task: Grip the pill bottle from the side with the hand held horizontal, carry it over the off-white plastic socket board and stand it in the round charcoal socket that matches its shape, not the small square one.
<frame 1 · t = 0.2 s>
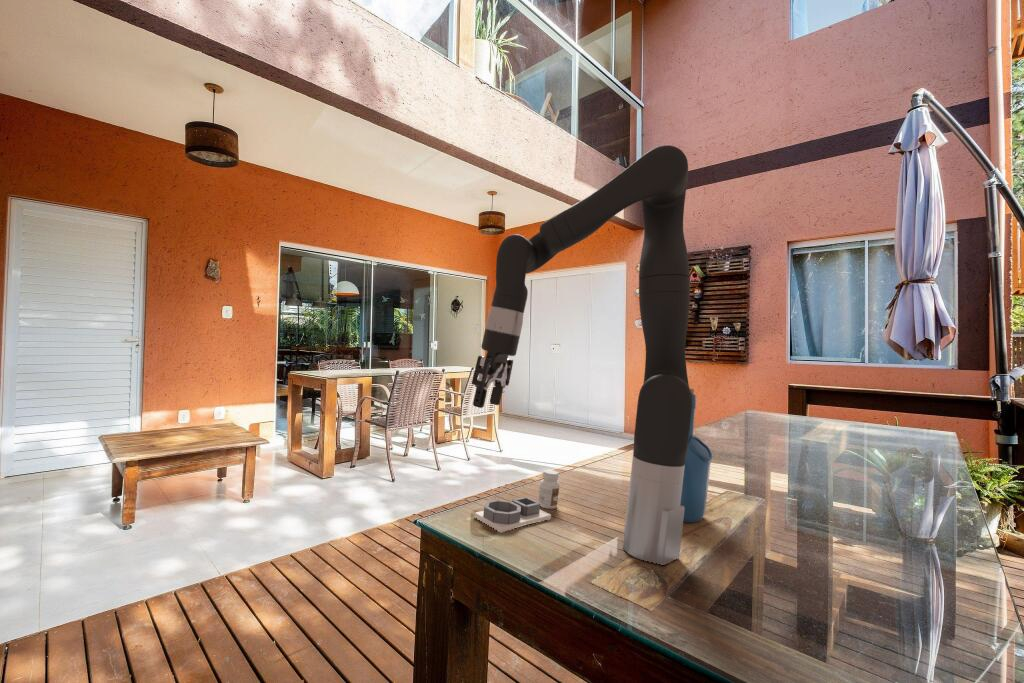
hand: (486, 405, 95), 22 cm above the table, tool pointing down, fingers open, 8 cm apart
pill bottle: (547, 506, 102), on the table
socket board: (513, 518, 92), on the table
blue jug: (675, 514, 106), on the table
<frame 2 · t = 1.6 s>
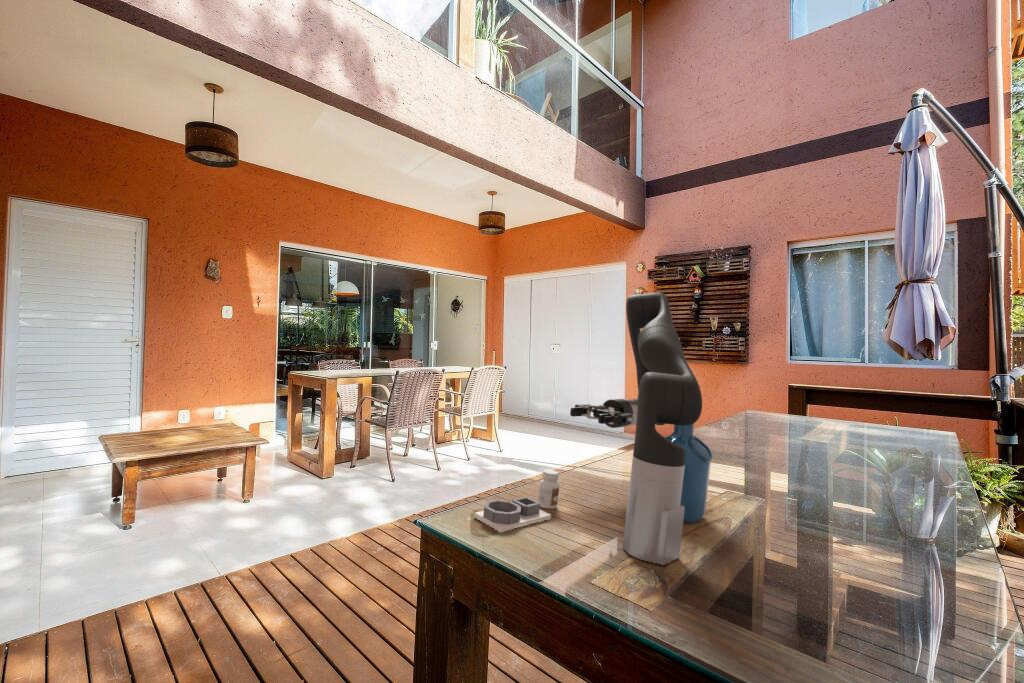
hand: (585, 415, 109), 20 cm above the table, tool horizontal, fingers open, 8 cm apart
nothing on the table moved.
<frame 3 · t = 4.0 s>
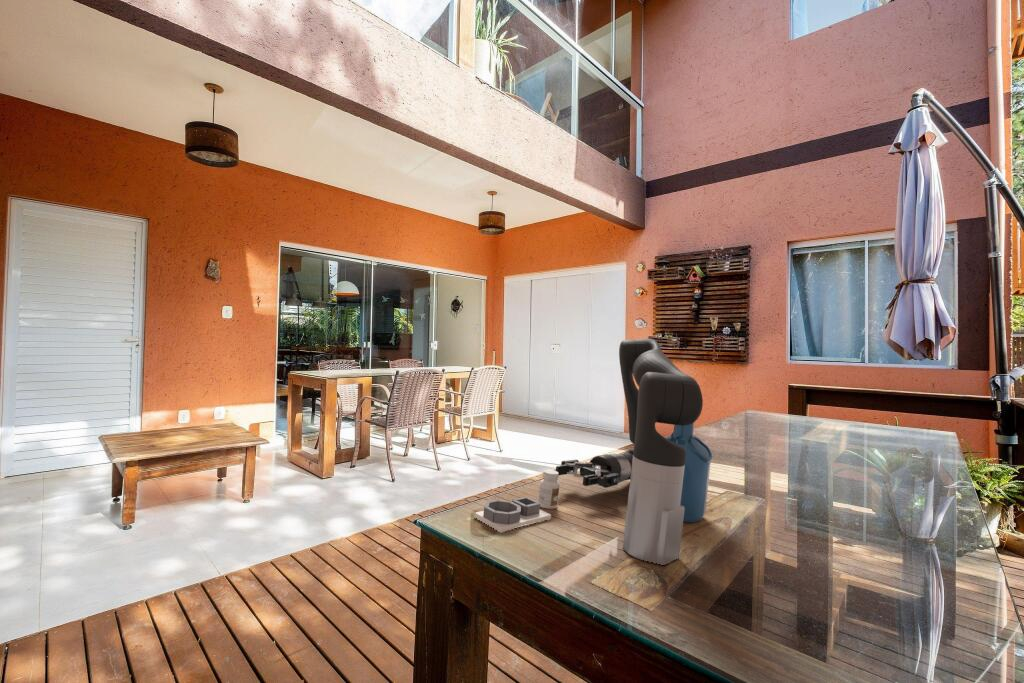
hand: (570, 475, 106), 6 cm above the table, tool horizontal, fingers open, 8 cm apart
nothing on the table moved.
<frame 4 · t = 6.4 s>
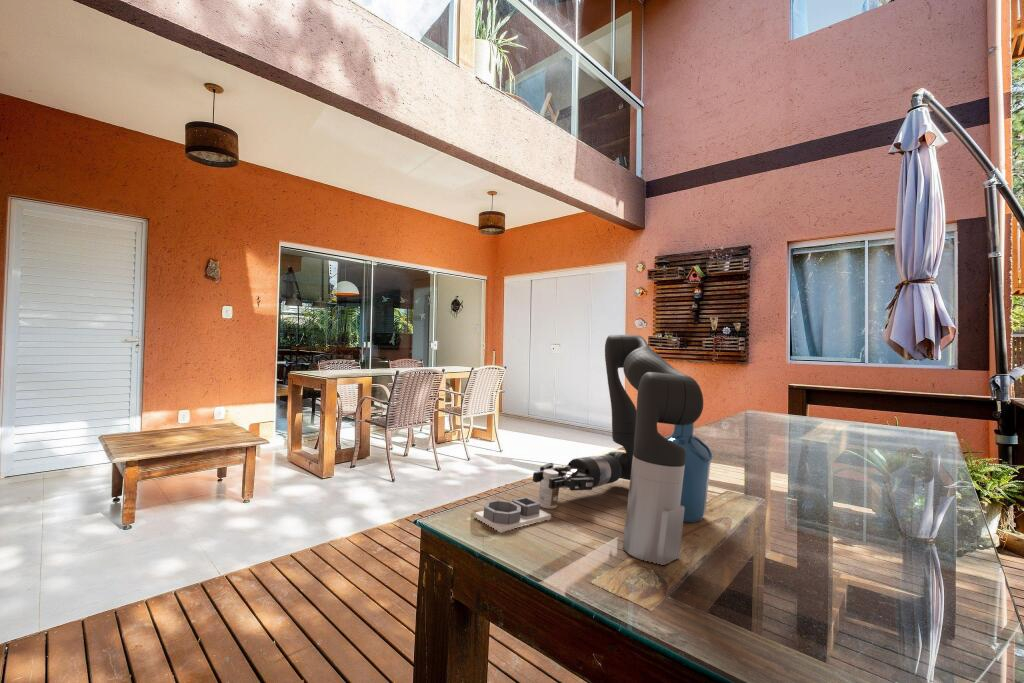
hand: (542, 480, 100), 6 cm above the table, tool horizontal, fingers closed on pill bottle, 4 cm apart
pill bottle: (547, 506, 102), on the table, touching gripper
everything else where it was.
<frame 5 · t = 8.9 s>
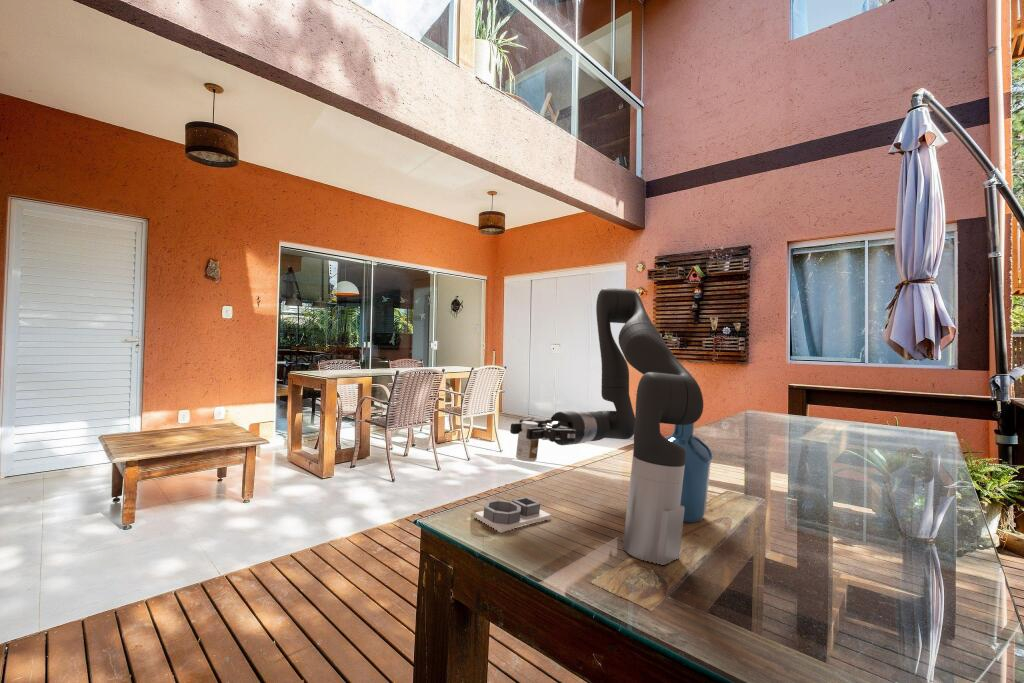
hand: (520, 431, 93), 18 cm above the table, tool horizontal, fingers closed on pill bottle, 4 cm apart
pill bottle: (526, 460, 94), point 12 cm above the table, touching gripper
everything else where it was.
when the fingers open (8 cm above the table, at t = 11.6 s): pill bottle drops 1 cm, resting on socket board.
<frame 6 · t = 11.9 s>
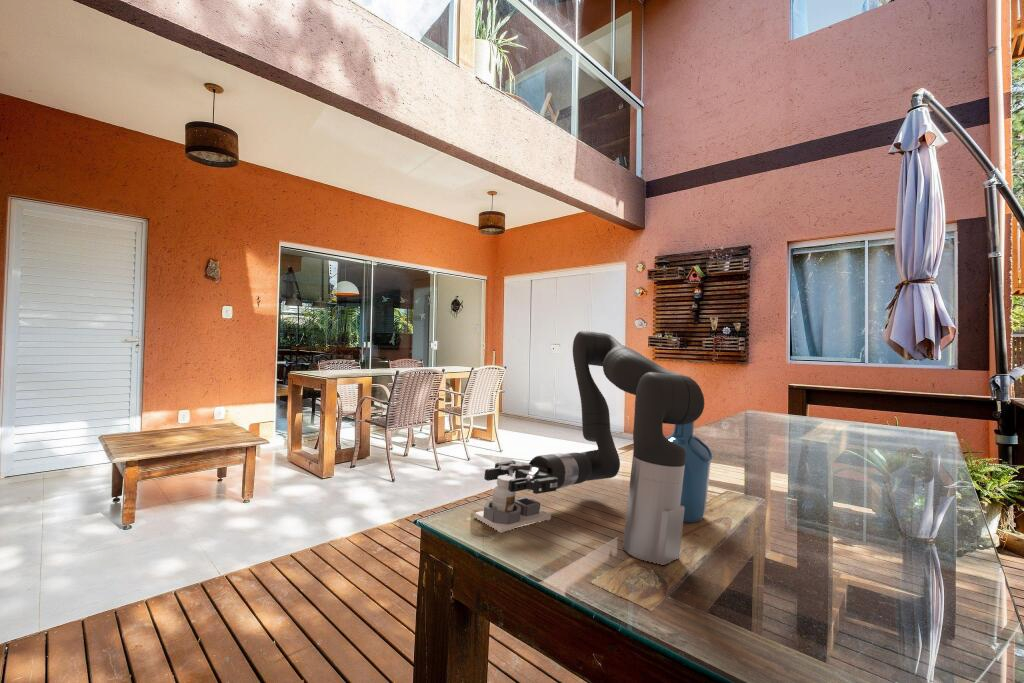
hand: (497, 480, 88), 8 cm above the table, tool horizontal, fingers open, 6 cm apart
pill bottle: (501, 517, 90), point 1 cm above the table, touching socket board
everything else where it was.
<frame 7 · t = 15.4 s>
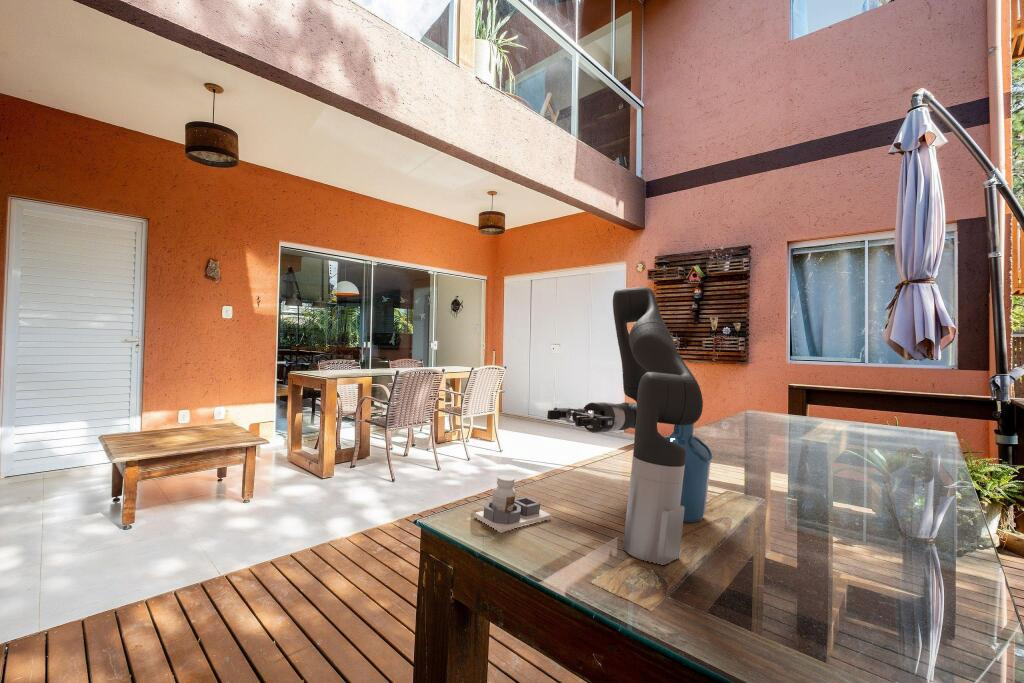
hand: (562, 418, 103), 20 cm above the table, tool horizontal, fingers open, 8 cm apart
nothing on the table moved.
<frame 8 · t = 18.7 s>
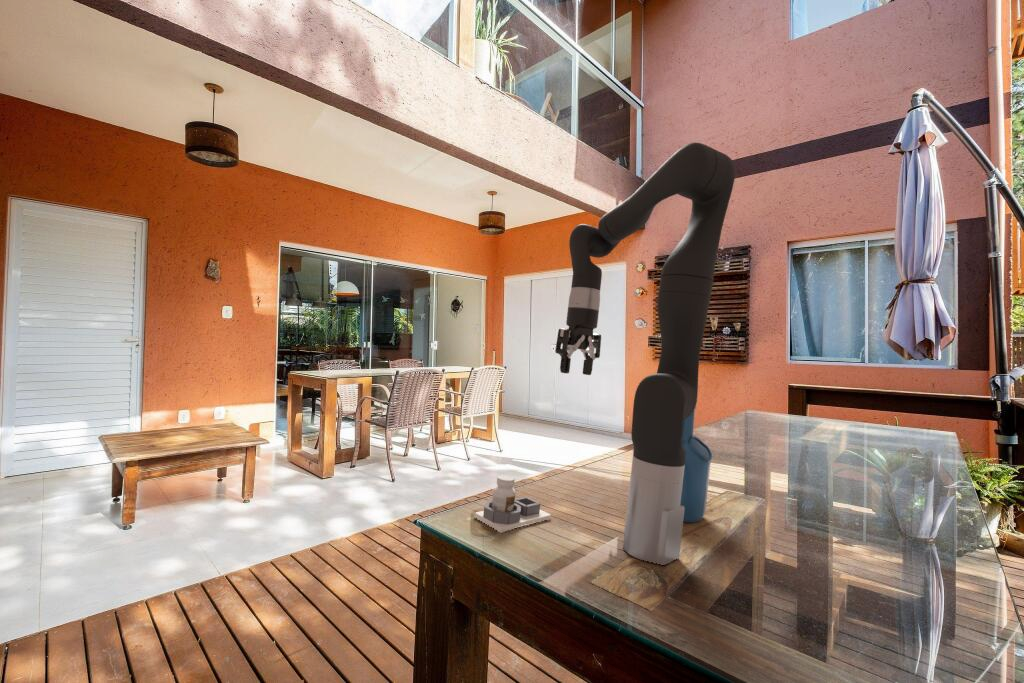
hand: (576, 373, 109), 30 cm above the table, tool pointing down, fingers open, 8 cm apart
nothing on the table moved.
at the end: pill bottle 0.1 cm from the target spot on the socket board, point 0.8 cm above the socket board's base; pill bottle tilted 0°; the gripper is holding nothing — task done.
